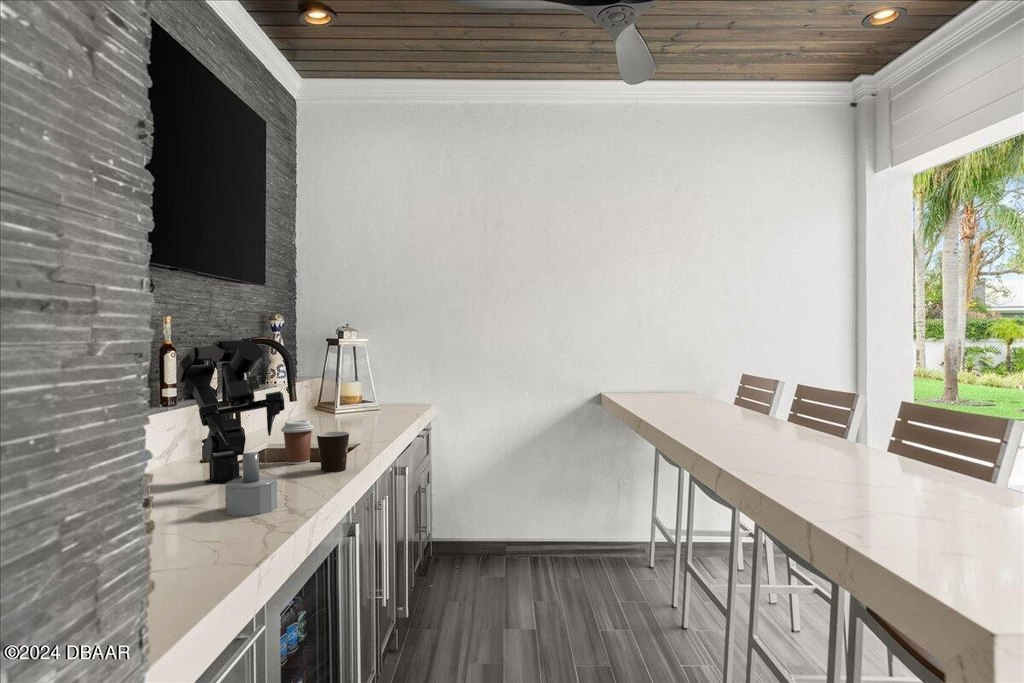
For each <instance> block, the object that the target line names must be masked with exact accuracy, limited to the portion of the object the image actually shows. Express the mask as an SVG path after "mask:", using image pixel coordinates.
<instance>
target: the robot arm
mask: <svg viewBox="0 0 1024 683" xmlns="http://www.w3.org/2000/svg"><path fill="white" fill-rule="evenodd" d="M263 354H264V352H263V348H262V347H260V345H259V344H258V343H255V342H253V341H252V340H251V338H250V337H245V338H244V337H243V338H241V339H216V340H214V341H213V342H212V343H211V345H195V346H193V347H191V348H190V351H189V352H188V354H187V355H186V356H185V357H183V359H182V360H180V362H179V364H178V367H177V371H176V381H177V383H178V384H179V385H180V387H181V388H182V390H183V391H185V392H187V393H189V394H190V395H192V396H193V398H194V400H195V403H196V404H197V406H198V414H199V418H200V422H201V424H202V426H203V427H207V428H208V434H207V437H206V441H205V443H204V445H203V447H202V455H203V456H202V457H203V458H204V459H205V460H206V459H207V460H208V462H209V463H208V464H209V478H208V479H205V480H204V482H205V483H217V484H219V483H222V484H226V483H227V482H229V481H231V480H234V479H239V478H243V475H240V462H239V456H243V455H242V454H244V453H245V446H246V440H247V438H246V435H245V433H244V432H243V429H242V427H241V426H240V423H239V421H238V420H237V419H236V418H227V416H229V415H234V414H239V413H243V412H249V411H254V410H259V409H264V408H266V428H267V434H268V437H270V436H271V434H272V430H273V424H274V421H275V418H276V416H277V415H280V414H281V411H282V412H284V411H285V398H284V394H283V393H282V391H280V390H279V391H273V392H267V393H265V394H264V395H265V399H260V400H256V399H255V394H254V393H255V392H254V391H256V390H260V383H259V379H258V375H252V376H250V373H251V372H253V371H254V369H255V368H256V366H257V364H258V363H259V362H260V360H261V358H262V357H263ZM201 361H202V362H203V361H205V362H206V361H208V364H198V365H197V364H195V363H196V362H201ZM213 362H214V363H217V364H220V363H224V364H225V363H226V364H225V365H224V366H223V367H222V374H221V375H222V378H224V381H225V382H224V383H225V389H226V396H227V402H228V405H229V406H221V404H220V401H219V400H218V397H217V396H216V394H215V391H214V389H213V388H212V386H211V384H212V380H213V377H214V374H215V371H216V368H215V367H214V364H213Z"/></svg>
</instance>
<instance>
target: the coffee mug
mask: <svg viewBox="0 0 1024 683" xmlns="http://www.w3.org/2000/svg"><path fill="white" fill-rule="evenodd" d="M349 438H350V432H348V431H325V432H320V433H317V434H316V440H317V448H318V453H319V461H320V467H321V468H320V469H321V472H322V471H324V472H323V473H326V472H334V473H340V472H344V471H346V470H347V469H346V468H347V460H348V450H349V449H348V448H349V440H350V439H349Z"/></svg>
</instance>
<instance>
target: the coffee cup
mask: <svg viewBox="0 0 1024 683" xmlns="http://www.w3.org/2000/svg"><path fill="white" fill-rule="evenodd" d="M314 429H315V427H314V425H312V424H311V421H310V420H306V419H305V420H304V419H299V420H297V419H295V420H289V421H285V422H284V426H283V427H281V428H280V431H281V432H282V433H283V440H284V448H285V458H286V464H287V465H290V464H298V465H305V464H309V463H310V462H311V460H310V459H311V446H312V445H311V442H312V431H314Z"/></svg>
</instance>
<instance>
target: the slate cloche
mask: <svg viewBox="0 0 1024 683" xmlns="http://www.w3.org/2000/svg"><path fill="white" fill-rule="evenodd" d="M241 456H242V478H239V479H234V480H231V481H229V482H227V483H225V484H224V485H225V487H224V488H225V489H224V490H225V492H224V494H225V515H229V516H233V517H250V516H256V515H262V514H265V513H266V514H267V513H269V512H272V511H274V510H276V509H277V508H278V487H277V484H278V482H277V479H276V477H273V476H269V475H268V476H266V475H260V464H259V463H260V461H259V460H260V457H259V456H260V454H259V452H257V451H254V452H253V451H250V452H244V453H243V454H242V455H241Z"/></svg>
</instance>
